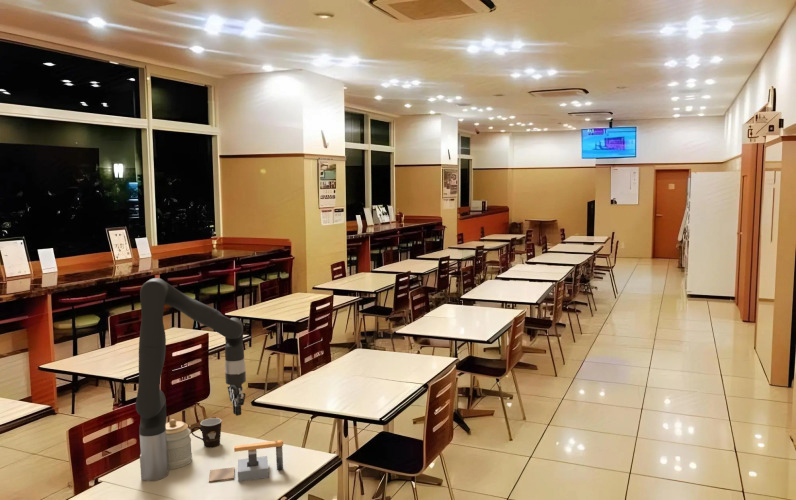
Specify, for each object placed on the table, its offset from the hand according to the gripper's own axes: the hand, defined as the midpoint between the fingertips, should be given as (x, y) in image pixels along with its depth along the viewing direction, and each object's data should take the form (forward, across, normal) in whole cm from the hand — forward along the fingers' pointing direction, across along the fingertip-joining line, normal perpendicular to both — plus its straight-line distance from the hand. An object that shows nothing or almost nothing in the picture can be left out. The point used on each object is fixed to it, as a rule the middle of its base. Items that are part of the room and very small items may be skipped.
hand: (237, 414), depth 236 cm
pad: (+21, +3, -8) cm, 23 cm away
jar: (+21, -19, -19) cm, 35 cm away
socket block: (+21, +8, +2) cm, 23 cm away
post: (+21, +12, +12) cm, 27 cm away
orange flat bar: (+11, +9, +5) cm, 15 cm away
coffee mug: (+21, -28, -3) cm, 35 cm away
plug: (+21, +8, +2) cm, 23 cm away
